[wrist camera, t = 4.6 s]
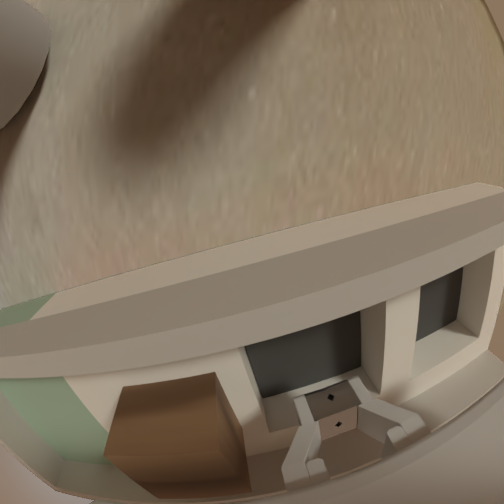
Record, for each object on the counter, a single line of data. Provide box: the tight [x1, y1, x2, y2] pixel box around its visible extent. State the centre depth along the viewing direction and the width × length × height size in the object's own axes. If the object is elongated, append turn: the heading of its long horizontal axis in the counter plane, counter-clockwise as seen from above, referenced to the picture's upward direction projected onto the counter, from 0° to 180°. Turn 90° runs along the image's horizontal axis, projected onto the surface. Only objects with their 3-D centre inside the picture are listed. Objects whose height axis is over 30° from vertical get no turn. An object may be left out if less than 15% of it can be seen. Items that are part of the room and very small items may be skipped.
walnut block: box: [103, 372, 252, 499], centre depth 10 cm, size 4×4×4 cm
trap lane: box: [0, 182, 504, 504], centre depth 12 cm, size 13×34×6 cm, turn 103°
